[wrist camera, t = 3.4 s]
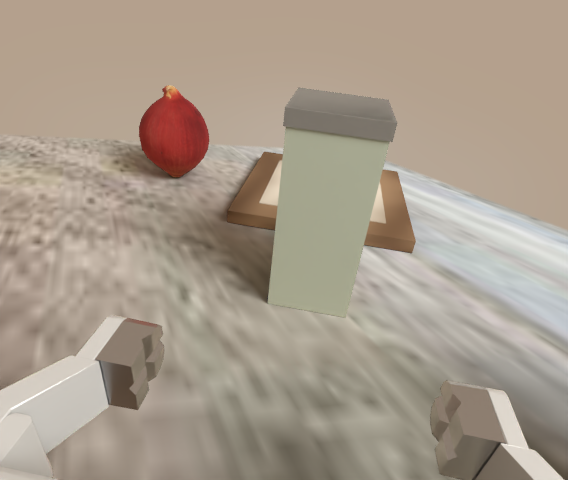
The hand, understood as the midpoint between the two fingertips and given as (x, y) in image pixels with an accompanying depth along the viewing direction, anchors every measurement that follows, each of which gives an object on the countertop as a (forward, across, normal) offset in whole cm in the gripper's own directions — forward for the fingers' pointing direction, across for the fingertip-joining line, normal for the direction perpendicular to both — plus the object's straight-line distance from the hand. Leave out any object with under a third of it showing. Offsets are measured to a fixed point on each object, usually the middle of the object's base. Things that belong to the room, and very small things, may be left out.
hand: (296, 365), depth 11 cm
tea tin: (+11, 0, +6) cm, 13 cm away
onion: (+24, +14, +6) cm, 28 cm away
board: (+24, 0, +6) cm, 25 cm away
